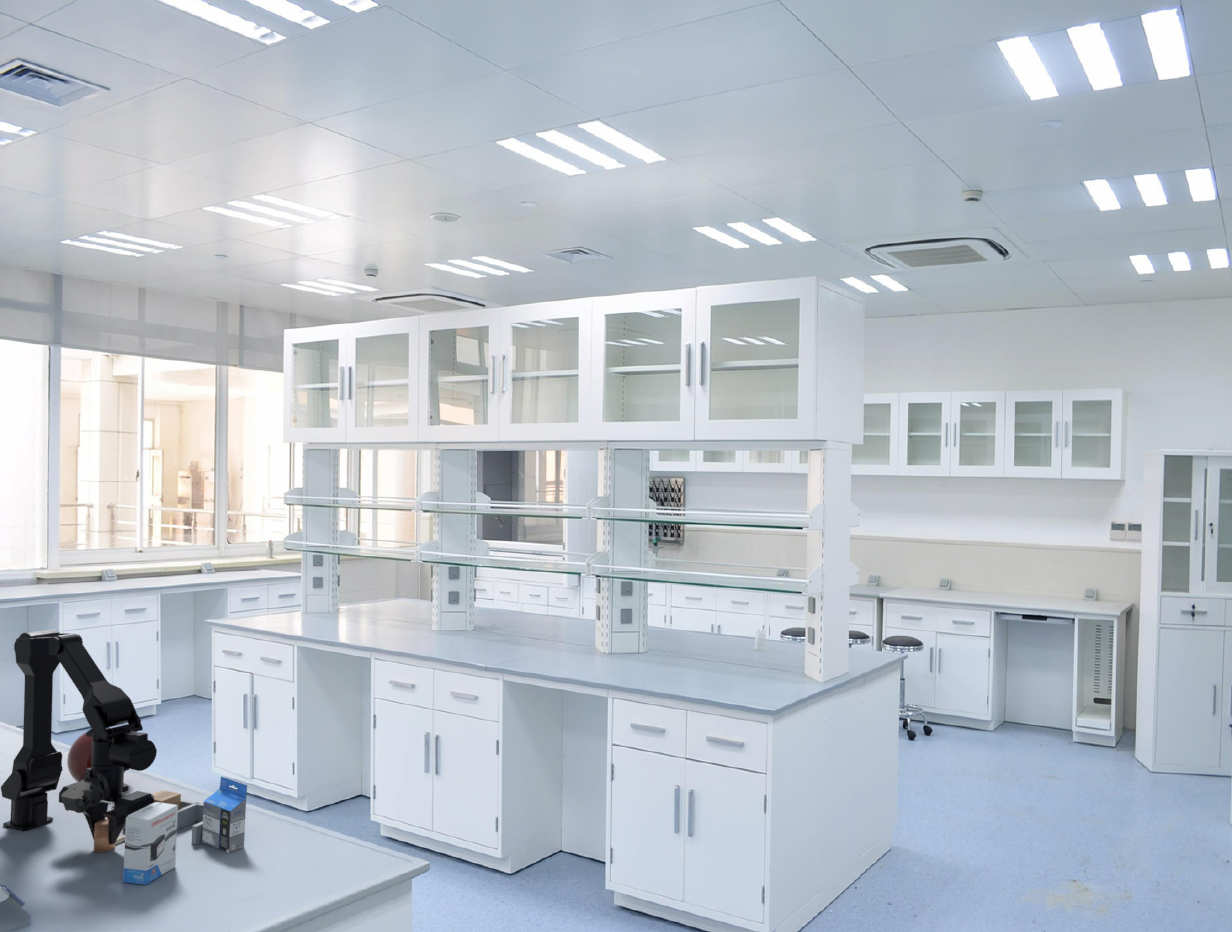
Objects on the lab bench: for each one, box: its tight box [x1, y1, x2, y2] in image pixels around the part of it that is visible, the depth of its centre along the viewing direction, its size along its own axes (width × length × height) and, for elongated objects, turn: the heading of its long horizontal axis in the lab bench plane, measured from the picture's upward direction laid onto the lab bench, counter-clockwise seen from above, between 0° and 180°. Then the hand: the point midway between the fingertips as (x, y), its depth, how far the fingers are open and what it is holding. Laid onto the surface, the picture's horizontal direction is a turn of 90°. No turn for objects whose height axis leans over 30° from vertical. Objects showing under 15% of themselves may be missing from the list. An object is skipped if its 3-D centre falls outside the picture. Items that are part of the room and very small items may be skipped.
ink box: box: [122, 802, 178, 886], centre depth 171 cm, size 8×5×12 cm, turn 168°
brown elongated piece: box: [93, 789, 182, 853], centre depth 189 cm, size 5×18×6 cm, turn 160°
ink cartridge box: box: [201, 776, 248, 854], centre depth 186 cm, size 9×4×12 cm, turn 57°
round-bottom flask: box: [66, 730, 127, 782], centre depth 217 cm, size 13×13×20 cm
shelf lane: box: [122, 798, 204, 845], centre depth 194 cm, size 19×10×4 cm, turn 70°
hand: (104, 841), depth 182 cm, fingers closed on brown elongated piece, 4 cm apart
